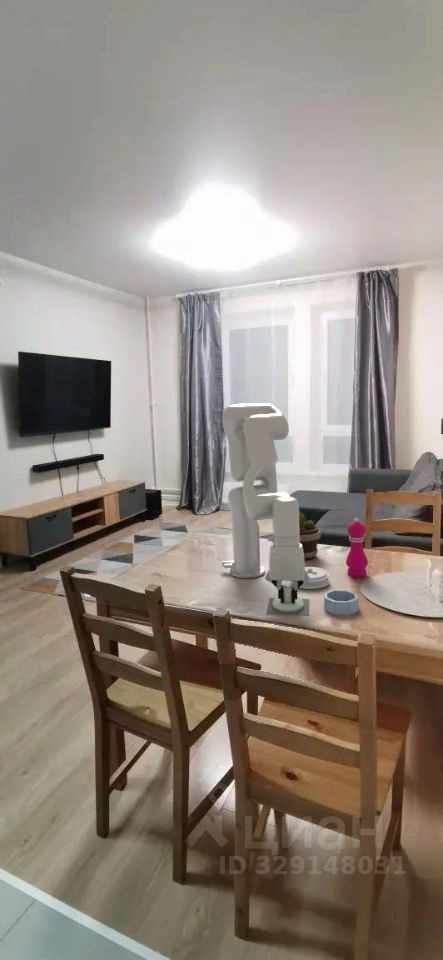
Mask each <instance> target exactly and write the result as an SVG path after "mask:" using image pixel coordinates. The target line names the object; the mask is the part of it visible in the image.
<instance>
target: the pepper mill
mask: <svg viewBox="0 0 443 960" xmlns="http://www.w3.org/2000/svg"><path fill="white" fill-rule="evenodd" d="M366 531H367V528H366V526H365V525H364V523H362V522H360V519H359V518H358V517H354V518H353V522H351V523H349V525H348V527H347V533H348V535H349V538H348V541H349V542H350V548H349V552H348V554H347V556H346V559H345V564H346V566H347V567H348V568H347V575H348V576H349V577H350V578H364V577H367V569H366V568H367V567H368V565H369V561H368V557H367V555H366V553H365V551H364V542H365V534H366Z"/></svg>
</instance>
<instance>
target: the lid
mask: <svg viewBox="0 0 443 960" xmlns="http://www.w3.org/2000/svg"><path fill="white" fill-rule="evenodd" d="M305 570H306V572H307V573H308V575H309V577H310V581H308V582H306V583H303V584H302V585H301V586H300V587H299V588H300V589H304V590H316V589H321V588H324V587H327V586H328V585H329V584H330V581H329V577H330V574H329V572H327V570H325V569H324V568H321V567H316V566H305ZM289 582H290V583H289V584H291V585H292V586H293V581H289ZM299 588H298V589H299Z"/></svg>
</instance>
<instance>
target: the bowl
mask: <svg viewBox="0 0 443 960" xmlns="http://www.w3.org/2000/svg"><path fill="white" fill-rule="evenodd" d="M359 602H360V601H359V595H358V593H356V592H353V591H351V590H349V589H331V590H329V591H326V592H324V593H323V604H324V605H323V607H324V609H323V610H324V611H326V612H328V613H330V614H333V615H339V616H351V615H352V614H353V615H354V614H355V613H358V612H359V611H360V610H359V609H360V608H359V607H360V606H359Z"/></svg>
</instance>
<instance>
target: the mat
mask: <svg viewBox="0 0 443 960" xmlns="http://www.w3.org/2000/svg"><path fill="white" fill-rule="evenodd" d="M276 598H277V597H270V598H269V599H268V604H267V608H266V612H265V615H273V616H274V615H275V616H277V615H278V616H303V617H305V616H306V617H309V616H310V598H301V599H302V600H303V602H304V607H303V609H301V610H299V611H296V612H281V611H278V610H275V609H274V608H273V600H274V599H276Z"/></svg>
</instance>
